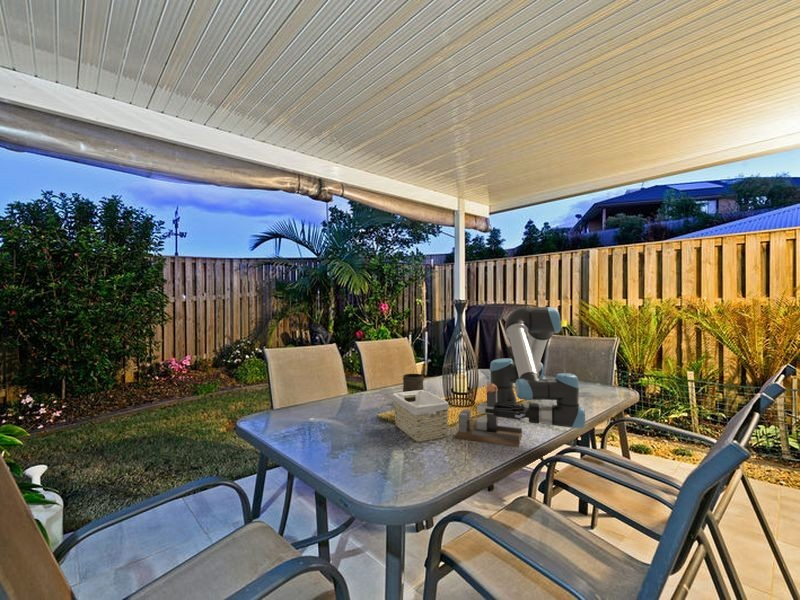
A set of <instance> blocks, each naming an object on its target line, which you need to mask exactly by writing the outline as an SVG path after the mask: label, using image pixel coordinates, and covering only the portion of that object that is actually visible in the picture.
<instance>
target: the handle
mask: <svg viewBox="0 0 800 600" xmlns="http://www.w3.org/2000/svg"><path fill="white" fill-rule="evenodd" d="M485 390H486V403H487V406H489V407H494V406H495V408H497V390H498V388H497V386H496V385H495V384H493V383H488V384H487V386H486V389H485ZM498 418H499V417H496V416H495V415H494V414H486V417H483V416H482V417H481V416H479V417H478V418H477V421H476V430H478V431H486V432H494V433H497V431H498V425H499V424H498V422H499V421H498V420H499V419H498Z"/></svg>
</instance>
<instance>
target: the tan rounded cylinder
mask: <svg viewBox="0 0 800 600" xmlns="http://www.w3.org/2000/svg"><path fill="white" fill-rule="evenodd" d="M477 420H478V418H476V419H475V418H471V419H469V420H468V430H469V431H471V432H472V430H476V421H477Z"/></svg>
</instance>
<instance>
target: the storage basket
mask: <svg viewBox="0 0 800 600" xmlns="http://www.w3.org/2000/svg"><path fill="white" fill-rule="evenodd" d="M410 397H415V399H416V400H415V401H413V402H407V401H405V398H410ZM392 403H393V412H394V419H395V420H394V421H395V426H396V427H398V428H399V429H400V430H401V431H403V433H405V434H406V435H407V436H408V437H409V438H411V439H413V440H414V441H416V442H417V443H418V442H419V443H420V442H424V441H432V440H438V439H441V438H444V437H447V433H448V429H447V428H448V422H449V419H448V417H449V416H448V415H449V412H448V411H449V409H450V405H449V402H448V401H446V400H445V399H443V398H442V397H439V396H437V395H435V394H434V393H432V392H429V391H426V390H424V389H423V390H417V391H408V392H403V391H402V392H401V391H400V392H394V393H392Z"/></svg>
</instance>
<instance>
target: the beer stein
mask: <svg viewBox="0 0 800 600" xmlns="http://www.w3.org/2000/svg"><path fill="white" fill-rule="evenodd" d="M424 379H425V377H424V375H423V374H421V373H407V374H404V375H403V377H402V380H403V381H402V383H403V385H402V392H408V391H417V390H423V391H424ZM415 400H416V399H415V397H410V398H405V401H407V402H413V401H415Z"/></svg>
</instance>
